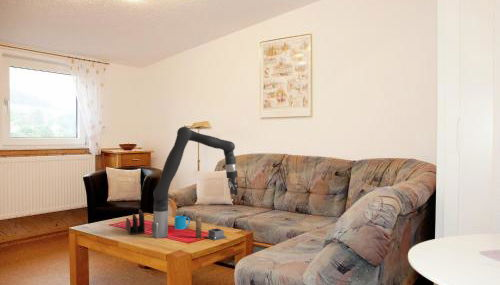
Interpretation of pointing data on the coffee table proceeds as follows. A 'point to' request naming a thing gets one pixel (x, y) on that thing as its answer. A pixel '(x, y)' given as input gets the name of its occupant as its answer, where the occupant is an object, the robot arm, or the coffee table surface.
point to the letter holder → (136, 224)
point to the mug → (181, 222)
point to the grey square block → (216, 234)
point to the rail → (198, 226)
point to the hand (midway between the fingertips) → (234, 194)
